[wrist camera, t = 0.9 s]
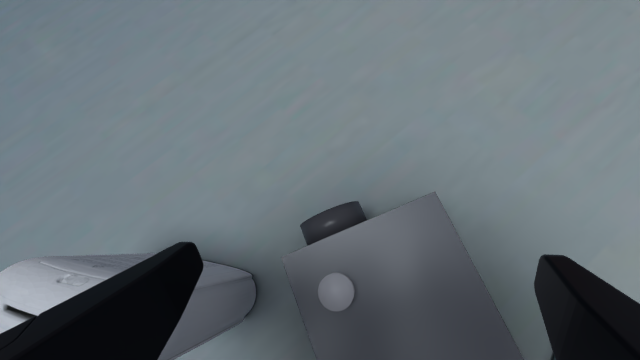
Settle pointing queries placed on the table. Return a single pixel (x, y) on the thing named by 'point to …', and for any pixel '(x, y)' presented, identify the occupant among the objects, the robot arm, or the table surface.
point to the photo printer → (87, 271)
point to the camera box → (393, 288)
